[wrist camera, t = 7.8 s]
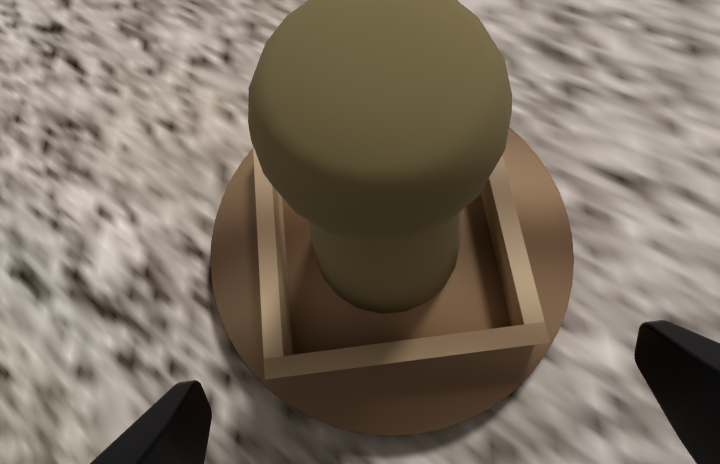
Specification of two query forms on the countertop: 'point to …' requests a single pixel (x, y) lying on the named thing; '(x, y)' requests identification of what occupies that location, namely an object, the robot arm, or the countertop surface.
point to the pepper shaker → (381, 137)
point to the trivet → (401, 329)
